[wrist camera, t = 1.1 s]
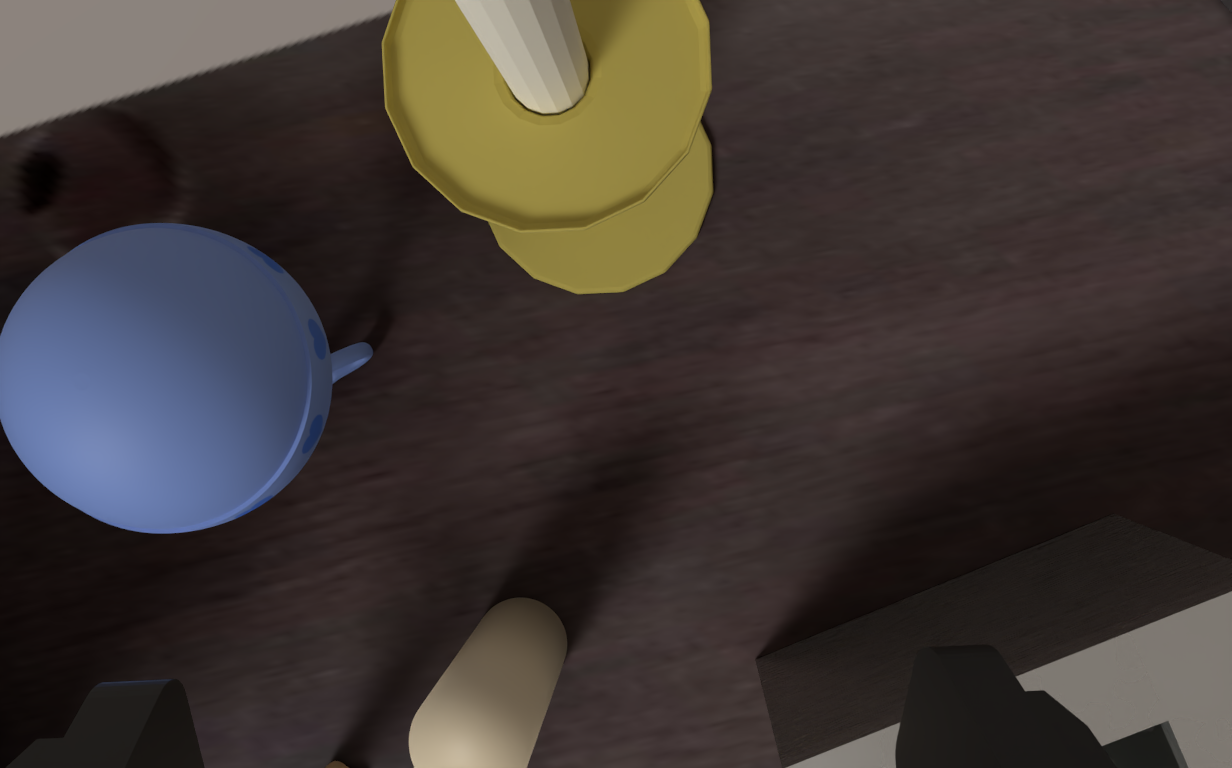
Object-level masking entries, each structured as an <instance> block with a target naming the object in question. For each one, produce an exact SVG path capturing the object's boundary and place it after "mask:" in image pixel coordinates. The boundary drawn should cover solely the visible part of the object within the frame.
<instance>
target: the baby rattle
mask: <svg viewBox="0 0 1232 768" xmlns="http://www.w3.org/2000/svg"><path fill="white" fill-rule="evenodd" d="M372 355H373V350H372V348H371V346H370V345H369V344H368V343H365V342H361V343H356V344H353V345H351V346H348V347H346V348H343V349H341V350H339V351H336V352H334V353H332V354H330V350H329V345H328V341H327V337H326V334H325V331H324V328H323V326H322V323H321V321H320V318H319V316H318V314H317V312H316V310H315V308H314V307H313V305H312V303H311V301H310V300H309V298H308V297H307V295H306V294H305V292H304V291H303V290H302V288H301V287H300V286H299V285H298V283H297V282H296V281H295V280H294V279H293V278H292V277H291V276H290V275H289V274H288V273H287V272H286V271H285V270H284V269H283V268H282V267H281V266H280V265H278V264H277V263H276V262H275V261H273V260H272V259H271V258H269V257H268V256H267V255H265V254H264V253H262V252H261V251H259V250H257V249H256V248H254V247H252V246H251V245H249V244H247V243H245V242H243V241H241V240H238V239H236V238H234V237H231V236H229V235H226V234H223V233H221V232H217V231H214V230H211V229H207V228H202V227H198V226H192V225H185V224H175V223H148V224H137V225H131V226H126V227H121V228H118V229H114V230H111V231H108V232H105V233H103V234H100V235H98V236H96V237H93V238H91V239H89V240H87V241H86V242H84V243H82V244H80V245H79V246H77V247H76V248H74V249H73V250H71V251H70V252H68V253H67V254H66V255H64V256H63V257H61V258H59V259H58V260H57V261H55V262H54V263H53V264H51V265H50V266H49V267H48V268H46V269H45V270H44V271H43V272H42V273H41V274H40V275H39V276H38V277H37V278H36V279H35V280H34V281H33V282H32V283H31V284H30V285H29V286H28V288H27V289H26V290H25V291H24V292H23V294H22V295H21V296H20V298H19V299H18V301H17V302H16V304H15V306H14V307H13V309H12V311H11V313H10V314H9V316H8V318H7V320H6V323H5V325H4V328H3V330H2V333H1V336H0V420H1V423H2V425H3V428H4V431H5V433H6V435H7V437H8V439H9V441H10V443H11V445H12V447H13V449H14V450H15V452H16V454H17V455H18V456H19V458H20V459H21V461H22V462H23V463H24V465H25V466H26V467H27V468H28V470H29V471H30V472H31V473H32V474H33V475H34V476H35V477H36V478H37V479H38V480H39V481H40V482H41V483H42V484H43V485H44V486H45V487H46V488H48V489H49V490H50V491H51V492H53V493H54V494H55V495H57V496H58V497H59V498H61V499H62V500H64V501H65V502H67V503H69V504H70V505H72V506H74V507H76V508H78V509H80V510H81V511H83V512H84V513H86V514H88V515H90V516H92V517H94V518H96V519H98V520H100V521H102V522H105V523H107V524H110V525H113V526H116V527H119V528H123V529H127V530H132V531H137V532H144V533H182V532H190V531H196V530H201V529H206V528H210V527H214V526H217V525H220V524H223V523H226V522H229V521H231V520H234V519H236V518H238V517H241V516H243V515H245V514H247V513H249V512H250V511H252V510H254V509H256V508H257V507H259V506H261V505H262V504H264V503H265V502H267V501H268V500H270V499H271V498H272V497H274V496H275V495H276V494H277V493H279V492H280V491H281V490H282V489H283V488H284V487H285V486H286V485H288V484H289V483H290V482H291V481H292V479H293V478H294V477H295V476H296V475H297V474H298V473H299V472H300V470H301V469H302V468H303V467H304V465H305V464H306V462H307V461H308V459H309V458H310V456H311V455H312V453H313V451H314V450H315V448H316V446H317V444H318V442H319V439H320V437H321V435H322V432H323V430H324V427H325V424H326V421H327V417H328V413H329V409H330V403H331V396H332V384H333V383H335V382H336V381H337V380H339V379H340V378H342V377H344V376H345V375H347V374H349V373H351V372H353V371H354V370H356V369H357V368H359V367H360V366H362V365H363V364H365V363H366V362H367V361H368V360H369V359H370V358H371V357H372Z"/></svg>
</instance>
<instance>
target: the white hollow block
mask: <svg viewBox="0 0 1232 768" xmlns="http://www.w3.org/2000/svg"><path fill="white" fill-rule="evenodd" d="M980 644H988V645H991V646H993V647H994V648H995V649H997V650H998V651H999V653H1000V654H1001V655H1002V657H1003V658H1004V660H1005V661H1006V663H1007V664H1008V666H1009V667H1010V669H1011V670H1012V672H1013V673H1014V675H1015V676H1016V678H1017V679H1018V681H1019V683H1020V684H1021V686H1022V687H1023V689H1024V690H1025V691H1038V690H1044V691H1046V692H1047V693H1048V694H1049V695H1051V696H1052V697H1053V698H1054V699H1055V700H1057V701H1058V702H1059V703H1060V704H1062V705H1063V706H1064V707H1065V708H1066V709H1068V710H1069V711H1070V712H1071V713H1073V714H1074V715H1075V716H1076V717H1077V718H1079V719H1080V720H1081V721H1082V722H1084V723H1085V724H1086V725H1087V726H1088V727H1089V728H1090V730H1091V731H1092V733H1093V734H1094V736H1095V737H1096V738H1097V740H1098V741H1099V743H1100V744H1101V746H1102V747H1103V748H1104V750H1105V751H1106V753H1107V754H1108V755H1109V757H1110V758H1111V760H1112V761H1113V763H1114V764H1115V765H1116V767H1117V768H1232V560H1231V559H1229V558H1226V557H1223V556H1221V555H1218V554H1216V553H1213V552H1211V551H1208V550H1206V549H1203V548H1200V547H1198V546H1195V545H1193V544H1190V543H1188V542H1185V541H1183V540H1180V539H1177V538H1175V537H1172V536H1170V535H1167V534H1165V533H1162V532H1160V531H1157V530H1154V529H1152V528H1149V527H1147V526H1144V525H1142V524H1139V523H1137V522H1134V521H1131V520H1129V519H1126V518H1124V517H1121V516H1119V515H1116V514H1112V515H1110V516H1107V517H1105V518H1102V519H1100V520H1097V521H1095V522H1092V523H1090V524H1087V525H1085V526H1083V527H1080V528H1078V529H1075V530H1073V531H1070V532H1068V533H1065V534H1063V535H1060V536H1058V537H1056V538H1053V539H1051V540H1048V541H1046V542H1043V543H1041V544H1038V545H1036V546H1033V547H1031V548H1028V549H1026V550H1024V551H1021V552H1019V553H1016V554H1014V555H1011V556H1009V557H1006V558H1004V559H1001V560H999V561H996V562H994V563H992V564H989V565H987V566H984V567H982V568H979V569H977V570H974V571H972V572H969V573H967V574H965V575H962V576H960V577H957V578H955V579H952V580H950V581H947V582H945V583H942V584H940V585H937V586H935V587H933V588H930V589H928V590H925V591H923V592H920V593H918V594H915V595H913V596H910V597H908V598H906V599H903V600H901V601H898V602H896V603H893V604H891V605H888V606H886V607H883V608H881V609H878V610H876V611H874V612H871V613H869V614H866V615H864V616H861V617H859V618H856V619H854V620H851V621H849V622H847V623H844V624H842V625H839V626H837V627H834V628H832V629H829V630H827V631H824V632H822V633H819V634H817V635H815V636H812V637H810V638H807V639H805V640H802V641H800V642H797V643H795V644H792V645H790V646H788V647H785V648H783V649H780V650H778V651H775V652H773V653H770V654H768V655H765V656H763V657H760V658H758V659H756V660H755V661H756V665H757V669H758V673H759V677H760V681H761V685H762V689H763V693H764V697H765V701H766V705H767V709H768V713H769V717H770V721H771V725H772V729H773V733H774V737H775V741H776V745H777V749H778V753H779V757H780V761H781V765H782V768H896V761H895V749H896V741H897V736H898V731H899V727H900V722H901V718H902V714H903V709H904V705H905V700H906V696H907V692H908V687H909V683H910V678H911V674H912V669H913V665H914V661H915V657H916V655H917V653H918V651H919V650H920V649H921V648H923V647H937V646H959V645H980Z"/></svg>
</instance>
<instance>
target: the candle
mask: <svg viewBox="0 0 1232 768" xmlns="http://www.w3.org/2000/svg"><path fill="white" fill-rule="evenodd" d="M382 57H383V76H384V95H385V109H386V111H387V113H388V115H389V117H390V119H391V122H392V124H393V126H394V128H395V130H396V132H397V134H398V137H399V139H400V141H401V143H402V145H403V147H404V149H405V152H406V154H407V156H408V158H409V160H410V162H411V165H412V167H413V168H414V169H415V170H416V171H418V172H419V173H420V174H421V175H422V176H423V177H424V178H425V179H426V180H427V181H428V182H429V183H431V184H432V185H433V186H434V187H435V188H436V189H437V190H438V191H439V192H440V193H441V194H443V195H444V196H445V197H446V198H447V199H448V200H449V201H450V202H451V203H452V204H453V205H454V206H456V207H457V208H458V209H459V210H460V211H461V212H464V213H467V214H469V215H472V216H475V217H478V218H480V219H483V220H486V221H488V222H489V225H490V227H491V229H492V231H493V233H494V235H495V238H496V240H497V242H498V244H499V246H500V248H502V249H503V250H504V251H505V252H506V253H507V254H508V255H509V256H510V257H511V258H512V259H514V260H515V261H516V262H517V263H518V264H519V265H520V266H521V267H522V268H523V269H524V270H525V271H527V272H528V273H529V274H530V275H531V276H532V277H533V278H535V279H537V280H540V281H543V282H546V283H548V284H551V285H554V286H557V287H559V288H562V289H565V290H568V291H570V292H573V293H576V294H591V293H612V292H624V291H627V290H629V289H631V288H633V287H635V286H637V285H639V284H641V283H643V282H646V281H648V280H650V279H652V278H654V277H656V276H658V275H660V274H663V273H665V272H666V271H667V270H668V269H669V268H670V267H671V265H672V264H673V263H674V262H675V261H676V260H677V259H678V258H679V257H680V256H681V255H682V253H683V252H684V251H685V250H686V249H687V248H688V247H689V246H690V245H691V244H692V242H693V241H694V240H695V239H696V238H697V236H698V233H699V231H700V228H701V225H702V222H703V220H704V217H705V214H706V211H707V209H708V206H709V203H710V201H711V198H712V195H713V171H712V145H711V143H710V141H709V139H708V137H707V134H706V132H705V130H704V128H703V126H702V124H701V118H702V116H703V113H704V110H705V107H706V105H707V102H708V99H709V96H710V94H711V91H712V79H711V53H710V26H709V20H708V17H707V15H706V13H705V11H704V9H703V7H702V4H701V2H700V0H396V2H395V5H394V8H393V11H392V14H391V17H390V20H389V23H388V25H387V28H386V31H385V34H384V37H383V40H382Z"/></svg>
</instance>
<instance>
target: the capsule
mask: <svg viewBox="0 0 1232 768" xmlns="http://www.w3.org/2000/svg"><path fill="white" fill-rule="evenodd" d="M566 653H567V635H566V631H565V628H564V626H563V624H562V622H561V620H560V619H559V617H558V616H557V614H556V613H555V612H554V611H553V610H552V609H551V608H549V607H548V606H547V605H545V604H543V603H541V602H539V601H537V600H534V599H530V598H521V597H519V598H511V599H507V600H504V601H502V602H500V603H498V604H496V605H495V606H493V607H492V608H491V609H490V610H489V611H488V612H487V613H486V614H485V616H484V617H483V618H482V620H481V621H480V623H479V624H478V625H477V627H476V628H475V630H474V631H473V633H472V634H471V635H470V637H469V638H468V640H467V641H466V643H465V644H464V645H463V647H462V648H461V650H460V651H459V652H458V654H457V655H456V657H455V658H454V660H453V661H452V662H451V664H450V665H449V667H448V668H447V670H446V671H445V672H444V674H443V675H442V677H441V678H440V679H439V681H438V682H437V684H436V685H435V687H434V688H433V689H432V691H431V692H430V694H429V695H428V697H427V698H426V699H425V701H424V702H423V704H422V705H421V707H420V708H419V710H418V711H417V713H416V715H415V717H414V719H413V721H412V724H411V728H410V733H409V751H410V756H411V760H412V763H413V765H414V768H527V765H528V762H529V759H530V757H531V754H532V751H533V748H534V745H535V742H536V740H537V737H538V734H539V731H540V728H541V725H542V722H543V720H544V717H545V714H546V711H547V708H548V705H549V703H550V700H551V697H552V694H553V691H554V688H555V686H556V683H557V680H558V677H559V674H560V671H561V669H562V666H563V663H564V660H565V657H566Z"/></svg>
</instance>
